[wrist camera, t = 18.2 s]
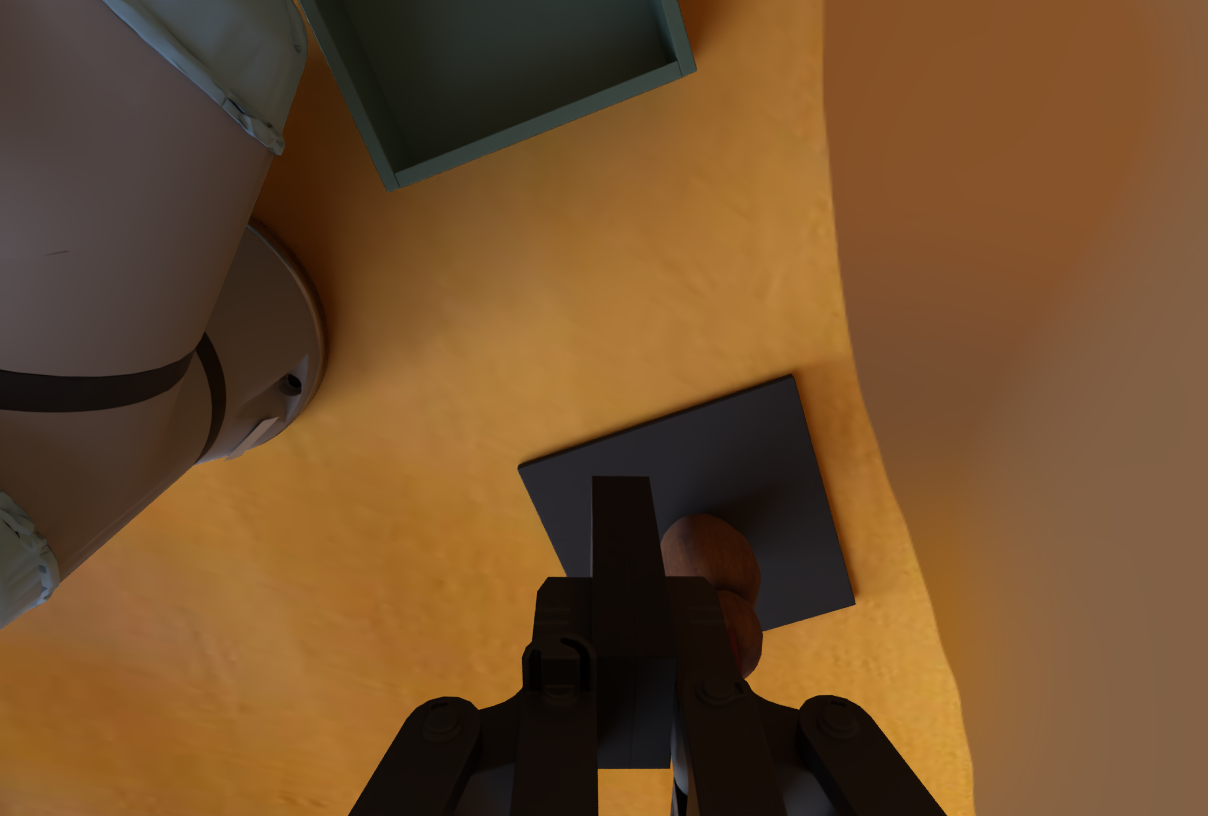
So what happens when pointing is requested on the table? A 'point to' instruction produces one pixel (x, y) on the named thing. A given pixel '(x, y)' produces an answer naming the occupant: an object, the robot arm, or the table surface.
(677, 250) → the table surface
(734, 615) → the wooden figurine
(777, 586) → the mat
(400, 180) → the chest
